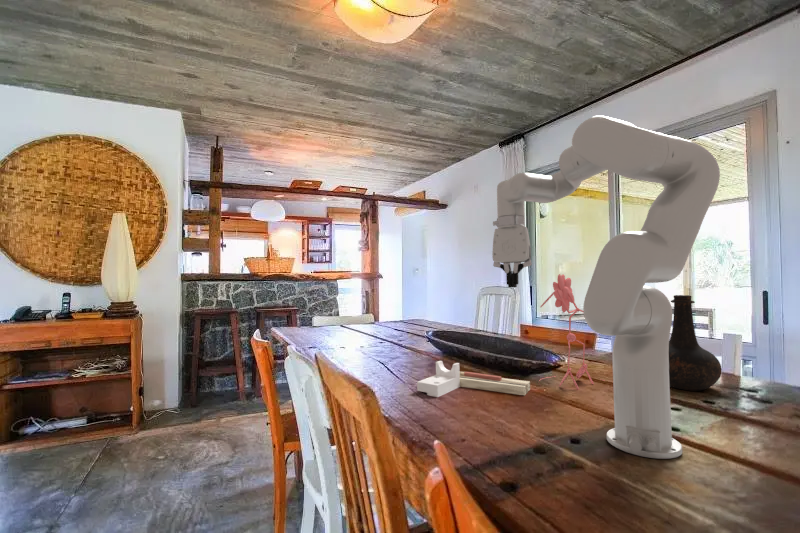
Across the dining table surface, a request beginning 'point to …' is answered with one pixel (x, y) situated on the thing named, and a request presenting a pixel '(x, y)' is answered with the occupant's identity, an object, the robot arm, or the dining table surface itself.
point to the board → (496, 385)
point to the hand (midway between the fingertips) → (512, 287)
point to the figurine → (563, 299)
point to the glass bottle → (689, 352)
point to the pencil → (481, 376)
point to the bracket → (441, 380)
